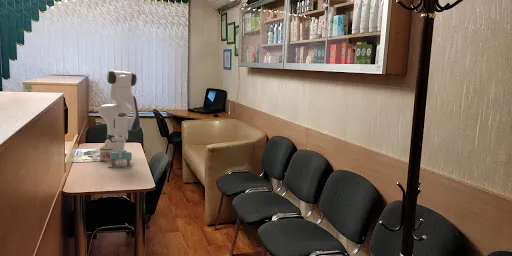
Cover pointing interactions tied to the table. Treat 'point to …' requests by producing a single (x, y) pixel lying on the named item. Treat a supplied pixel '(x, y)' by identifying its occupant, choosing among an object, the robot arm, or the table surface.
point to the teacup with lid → (105, 152)
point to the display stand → (120, 164)
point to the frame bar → (124, 155)
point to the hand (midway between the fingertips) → (121, 155)
